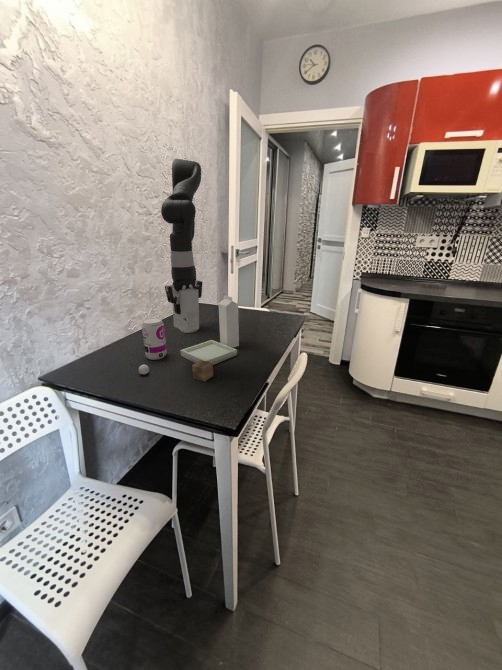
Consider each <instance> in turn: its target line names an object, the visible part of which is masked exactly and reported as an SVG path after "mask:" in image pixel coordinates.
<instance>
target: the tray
mask: <svg viewBox="0 0 502 670" xmlns="http://www.w3.org/2000/svg"><path fill="white" fill-rule="evenodd" d="M180 355H181V357H182V358H185V359H187V360H188V361H191V362H193V363H194V364H195V363H197V362H199V361H200V360H203V361H207V362H211V363H213V366H214V365H216V364H218V363H221V362H224V361H226V360H229V359H232V358H233V357H236V356H238V349H236V348H235V347H233V348H232V347H229V346H227V345H224V344H221V343H220V341H219V342H218V341H215V340H213V339H210V340H207V341H205V342H201V343H199V344H195V345H191V346H189V347H185V348H183V349H180Z"/></svg>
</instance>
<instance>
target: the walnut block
mask: <svg viewBox="0 0 502 670" xmlns="http://www.w3.org/2000/svg"><path fill="white" fill-rule="evenodd" d="M213 366H214V365H213V363H211V362H207V361H203V360H200V361H199V362H197V363H195V362H194V364H192V365H191V370H192V379H194V380H197V381H201V382H206V381H208V380H210V379H211V378H212V377H214V367H213Z"/></svg>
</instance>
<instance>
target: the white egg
mask: <svg viewBox="0 0 502 670" xmlns="http://www.w3.org/2000/svg"><path fill="white" fill-rule="evenodd" d="M149 371H150V367H149V366H148V365H147V364H141V365H139V367H138V373H139V374H140V375H142V376H143V375H146V374H148V373H149Z"/></svg>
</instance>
